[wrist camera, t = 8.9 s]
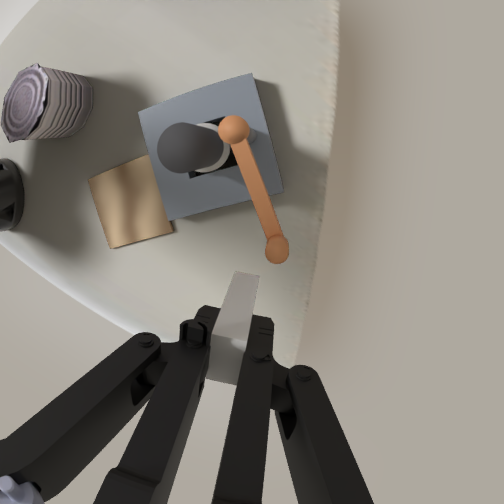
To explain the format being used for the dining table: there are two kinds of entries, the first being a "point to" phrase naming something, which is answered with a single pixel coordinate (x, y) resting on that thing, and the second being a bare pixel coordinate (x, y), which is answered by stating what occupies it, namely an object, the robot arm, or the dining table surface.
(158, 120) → the socket
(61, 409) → the robot arm
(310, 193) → the dining table surface
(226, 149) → the plug
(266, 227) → the ball-ended peach stick
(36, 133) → the can
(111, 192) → the coaster
